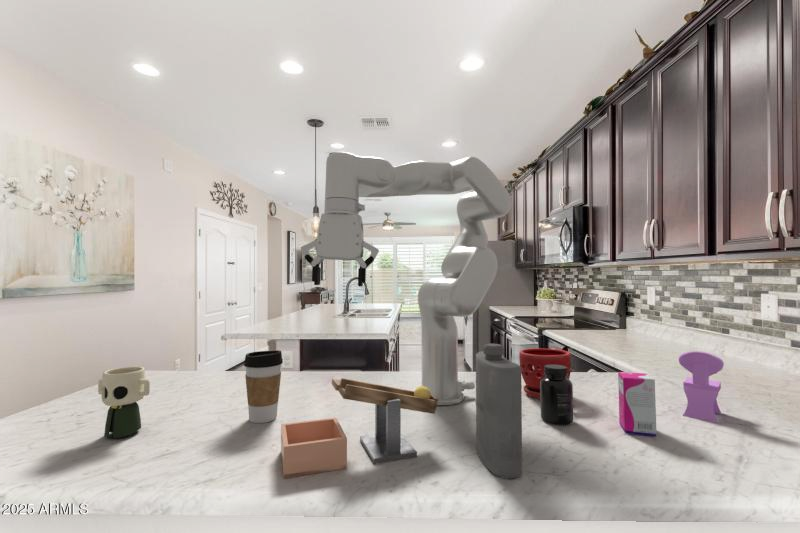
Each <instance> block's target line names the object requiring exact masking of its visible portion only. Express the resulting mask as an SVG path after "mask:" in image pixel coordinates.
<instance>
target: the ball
mask: <svg viewBox="0 0 800 533" xmlns="http://www.w3.org/2000/svg"><path fill="white" fill-rule="evenodd" d="M414 391H415V392H414V396H415V397H420V398H426V399H430V396H431V394H430V391H429V389H428V388H427V387H425V386H422V385H419V386H418V387H416V388H415V390H414Z"/></svg>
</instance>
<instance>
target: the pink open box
mask: <svg viewBox="0 0 800 533" xmlns="http://www.w3.org/2000/svg"><path fill="white" fill-rule="evenodd" d="M342 427H343V426H341V424H340V422H339V420H338V418H337V417H328V418H321V419H312V420H304V421H296V422H287V423H281V424H280V456H281V466H282V474H283V479H291V478H296V477H301V476H307V475H308V476H309V475H313V474H320V473H326V472H327V473H328V472H331V471H338V470H339V471H340V470H344V469H348V437H347V436H346V433H345V432H344V430H343V428H342Z"/></svg>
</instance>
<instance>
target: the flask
mask: <svg viewBox="0 0 800 533" xmlns="http://www.w3.org/2000/svg"><path fill="white" fill-rule="evenodd" d="M504 350H505V348H504V346H503V345H502V344H500V343H486V344H484V345H483V351H482V350H481V351H478V352H477V353H476V354H475V430H476V431H475V442H476V443H475V446H476V448H475V450H476V452H477V455H478V457H479V459H480V460H481V462H482V464H483V465H484V466H485V467H486V468H487V469H488V470H489V472H490V473H492V474H493V475H495V476H496V477H499V478H503V479H509V480H511V479H517V478H519V477H521V476H522V474H523V433H522V432H523V428H522V426H523V424H522V423H523V421H522V420H523V416H522V414H523V413H522V412H523V409H522V408H523V407H522V404H523V403H522V374H521V367H520V364H519V363H515V362H513V361H511V360H509V359H507V358H506V357H505V356H504V355H505V353H504V352H505V351H504Z"/></svg>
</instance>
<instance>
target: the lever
mask: <svg viewBox="0 0 800 533" xmlns="http://www.w3.org/2000/svg"><path fill="white" fill-rule="evenodd" d="M331 385H332V387H333V388H334V390H335V391H336V392H337V391H338V392H339V394H340V396H341V397H342V398H343V400H347V401H348V400H349V401H356V402H360V403H361V402H362V403H365V404H366V403H368V404H372V405H375V404H378V405H384V406H386V400H391V399H400V400H401V409H403V410H409V411H413V412H420V413H421V412H422V413H427V414H432V415H435V413H436V409H437V406H438V405H437V401H438V399H437V398H436V397H434V396H433V395H431V396H430V399H426V398H420V397H415V396H414V392H415V390H410V389H409V390H408V389H402V388H398V387H393V386H387V385H380V384H377V383H371V382H365V381H362V380H361V381H358V380H354V379H349V378H343V377H341V379H338V378H332V380H331Z"/></svg>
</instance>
